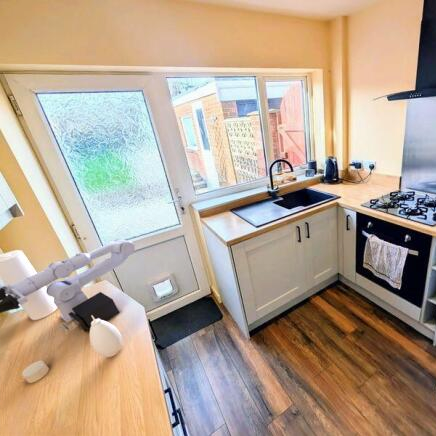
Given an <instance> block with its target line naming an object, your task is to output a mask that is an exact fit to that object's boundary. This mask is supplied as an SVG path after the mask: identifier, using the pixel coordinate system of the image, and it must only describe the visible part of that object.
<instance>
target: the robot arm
mask: <svg viewBox="0 0 436 436" xmlns="http://www.w3.org/2000/svg"><path fill="white" fill-rule="evenodd" d="M135 249H136V244H135V243H134V242H133V241H130V240H125V239H121V238H115V239H114V240H111V241H108V242H107V243H106V244H104V245H102V246H100V247H98V248H96V249H94V250H91V251H89V252H87V253H86V252H77V253H75V255H74V256H71V257H69V258H64V259H62V261H56V262H51V263H50V264H49V265H48V266H47V267H46V268H44V269H43V270H41V271H39V272H37V273H36V274H34V275H32V276H30V277H28V278H26V279H24V280H22V281H20V282H18V283H16V284H14V285H11V284H8V285H6V284H3V285H1V286H0V314H2V313H4V312H8V311H13V310H18V309H20V308H21V305H22V304H24V303H25V302H27V301H28V300H27V299H26V296H28V295H30V294H31V293H33V292H35V291H37V290H39V289H41V288H42V287H44V286H46V287H47V290H46V292H47V294H48V295H49V296H51V297H53V298H54V303H55V305H56V306H57V309H58V311H59V313H60V314H61V315H60V318H61V319H62V320H63V321H65V323H66V322H68V321H70V320H71V317H70V316H69V313H70V312H73V310H72V308H74V307H75V306H77V305H79V304H80V303H82V302H84V301H86V300H87V299H89V298H88V297H87V295H86V293H85V292H84V291H82V288H83V287H84V286H86V285H88V284H90V283H91V282H93V281H95V280H97V279H98V278H100V277H102V276H104V275H106V274H108V273H109V272H111V271H113V270H115V269H117V268H118V267H120V266H122V265H123V264H124V263H125V262H126V260H127V259H128V258H129V257H130V256H132V255H134V252H135ZM107 254H110V257H109V258H107V259H106V260H104V261H102V262H99V263H98V264H95V265H94V266H92V267H90V268H88V269H86V270H85V271H83V272H80V273H79V274H76V275H75V276H72V277H70V276H71V275H72V273H73V272H76V271H78V270H79V269H82V268H84V267H86V266H88V265H90V264H91V262H92V260H96V259H98V258H100V257H102V256H105V255H107ZM59 279H62V280H59ZM14 296H15V297H14ZM20 304H21V305H20ZM73 313H74V312H73ZM74 314H75V313H74Z"/></svg>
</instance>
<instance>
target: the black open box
mask: <svg viewBox="0 0 436 436" xmlns="http://www.w3.org/2000/svg"><path fill="white" fill-rule="evenodd" d="M69 316H70V317H71V320H70V321H68V322H66V321H65V323H61V324H60V325H59V327H58V328H60V329H61V330H62V331H63V332H64V333H65V334H69V333H70V332H71V331H72V330H73V329H75V328H79V329H80V330H81V331H82V332H84V333H87V332H89V329H88V328H87V327H86V325H85V324H84V322H83V321H84V319H83V318H82V317H81V316H80V317H81V318H82V319H80V318H79V317H78V316H77V315H75V314H74V313H73V312H70V313H69ZM82 320H83V321H82ZM71 322H73V323H74V325H73V326H71V327H68V326H67V325H69V324H71Z"/></svg>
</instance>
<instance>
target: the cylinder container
mask: <svg viewBox="0 0 436 436" xmlns="http://www.w3.org/2000/svg"><path fill="white" fill-rule="evenodd" d="M36 273H38V272H37V271H36V270H35V268H34V266H33V265H32V264H31V262H30V260H29V259H28V257H27V256H26V255H25V253H24V251H23V250H21V249H15V250H11V251H7V252H5V253H2V254H0V280H1V281H2V283H3V285H5V284H6V285H8V284H11V285H14V284H16V283H18V282H20V281H22V280H24V279H26V278H28V277H30V276H32V275H34V274H36ZM47 287H48V286H47V285H46V286H44V287H42V288H41V289H39V290H37V291H35V292H33V293H31V294H30V295H28V296H26V299H27V300H28V301H27V302H25V303H24V304H22V305H21V304H19V306H20V307H21V308H22V309H23V311H24V312H25V313H26V314H27V316H28V317H29V319H30V320H32V321H38V320H41V319H43V318H46V317H48V316H50V315H51V314H53V313H54V312H55V311H57V309H58V308H57V306H56V305H55V303H54V297H51V296H49V295H48V294H47V292H46V290H47ZM14 297H15V296H14Z"/></svg>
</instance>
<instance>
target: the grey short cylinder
mask: <svg viewBox="0 0 436 436" xmlns="http://www.w3.org/2000/svg"><path fill="white" fill-rule="evenodd" d="M49 370H50V368H49V366H48V365H47V364H46V362H45V361H44V360H37V361H35V362H33V363H31V364H29V365H28V366H27V367H25V368H24V369H23V371H22V373H21V377H22V378H23V379H24V380H25V381H26V382H27V383H29V384H31V383H35V382H37V381H39V380H41V379H42V378H44V377H45V376H46V375H47V374H48V372H49Z"/></svg>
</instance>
